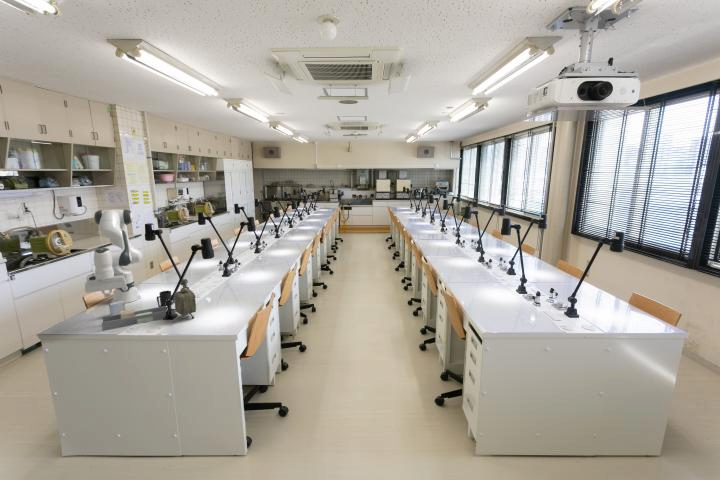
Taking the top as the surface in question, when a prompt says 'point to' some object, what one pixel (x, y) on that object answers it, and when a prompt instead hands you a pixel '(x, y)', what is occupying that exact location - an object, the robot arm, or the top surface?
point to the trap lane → (134, 318)
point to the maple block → (127, 314)
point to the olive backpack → (185, 301)
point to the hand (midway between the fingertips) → (107, 296)
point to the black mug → (163, 297)
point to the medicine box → (116, 308)
